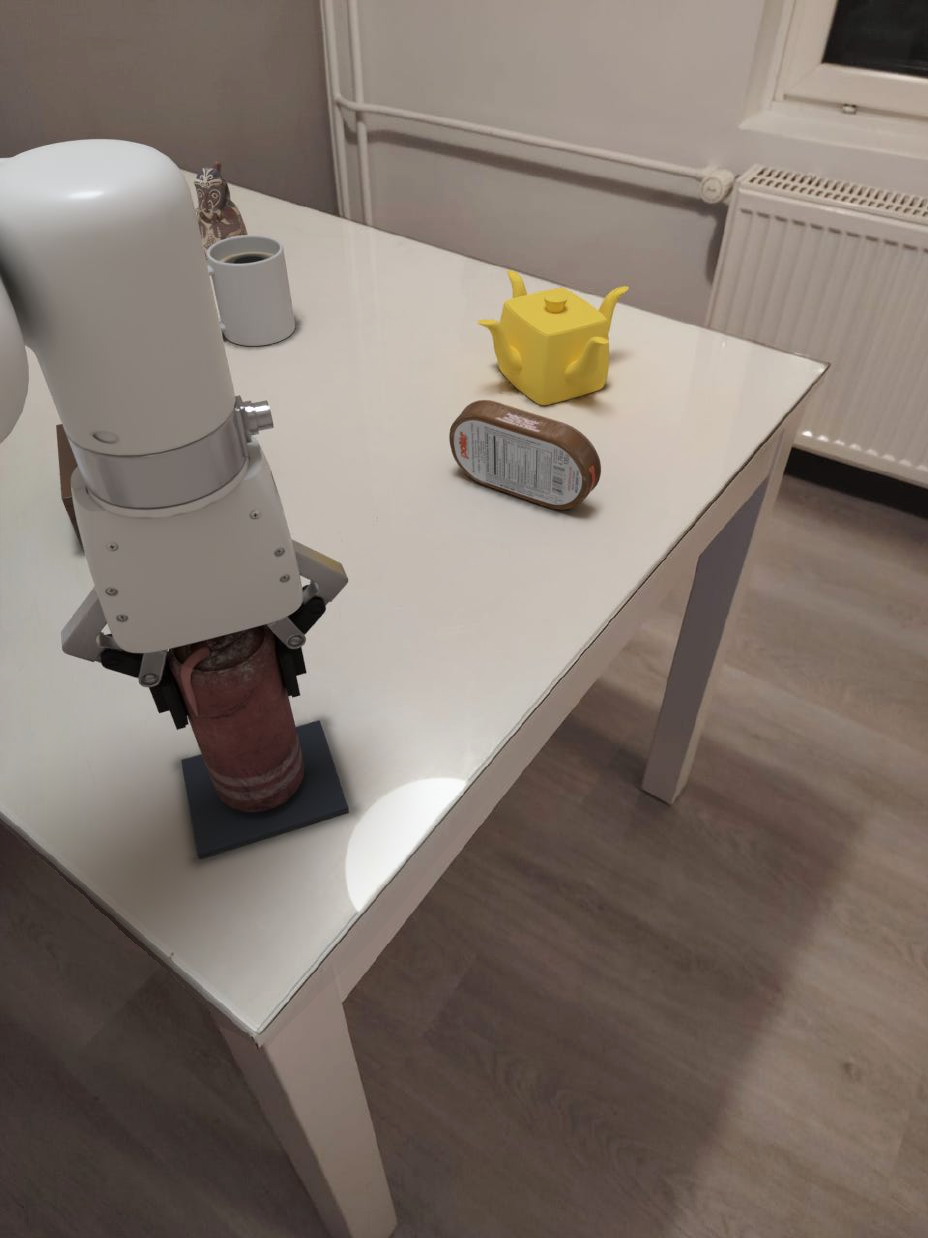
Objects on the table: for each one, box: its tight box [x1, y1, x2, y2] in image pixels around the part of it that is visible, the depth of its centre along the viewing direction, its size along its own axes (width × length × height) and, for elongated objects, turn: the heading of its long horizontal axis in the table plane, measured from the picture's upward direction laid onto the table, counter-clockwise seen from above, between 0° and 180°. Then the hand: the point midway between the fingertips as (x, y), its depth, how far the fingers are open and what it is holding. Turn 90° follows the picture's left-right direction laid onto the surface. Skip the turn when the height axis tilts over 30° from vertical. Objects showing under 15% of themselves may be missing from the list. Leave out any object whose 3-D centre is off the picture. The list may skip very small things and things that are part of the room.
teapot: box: [476, 269, 630, 406], centre depth 96 cm, size 15×14×10 cm
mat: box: [180, 719, 350, 860], centre depth 60 cm, size 10×8×1 cm
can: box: [167, 624, 305, 812], centre depth 54 cm, size 6×6×14 cm
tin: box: [448, 399, 602, 510], centre depth 81 cm, size 15×3×8 cm, turn 59°
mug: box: [207, 234, 296, 347], centre depth 105 cm, size 11×10×10 cm
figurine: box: [193, 161, 249, 266], centre depth 120 cm, size 7×7×12 cm
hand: (235, 694), depth 53 cm, fingers closed on can, 6 cm apart
